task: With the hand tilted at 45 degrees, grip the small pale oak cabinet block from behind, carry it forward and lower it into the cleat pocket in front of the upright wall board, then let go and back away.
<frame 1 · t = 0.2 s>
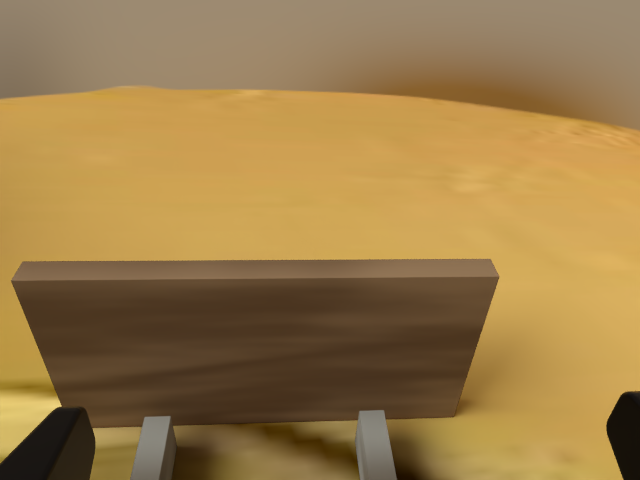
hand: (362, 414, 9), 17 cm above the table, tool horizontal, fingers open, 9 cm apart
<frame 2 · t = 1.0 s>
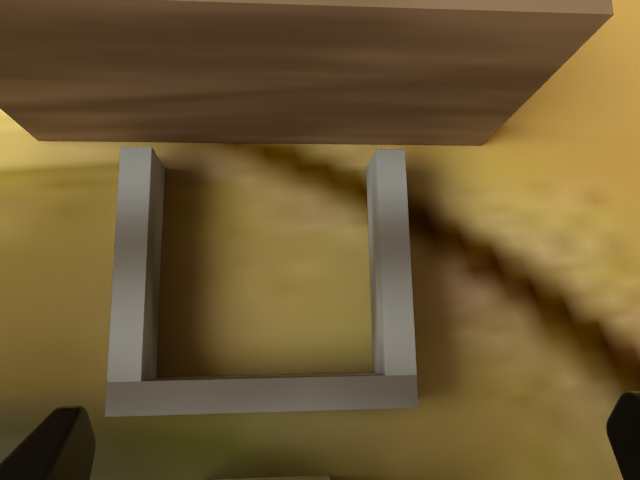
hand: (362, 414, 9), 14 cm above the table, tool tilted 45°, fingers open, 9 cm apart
cleat board: (266, 267, 23), on the table
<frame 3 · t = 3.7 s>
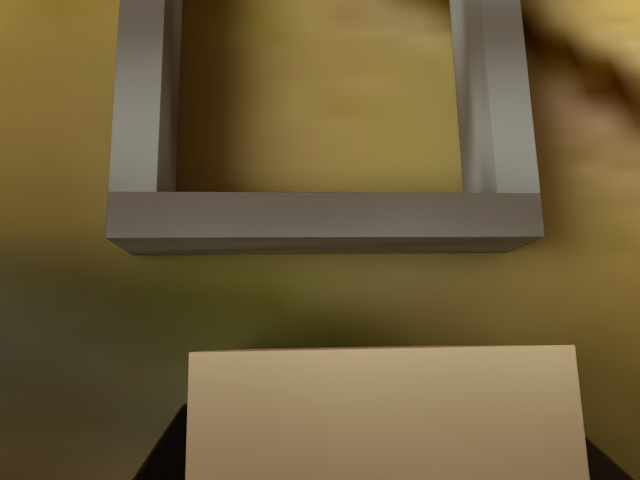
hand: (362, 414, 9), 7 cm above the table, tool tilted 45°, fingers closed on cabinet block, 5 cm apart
cabinet block: (327, 436, 15), on the table, touching gripper
cleat board: (320, 81, 17), on the table
when the fingers open (8 cm above the table, at t = 7.3 s): cabinet block drops 2 cm, resting in cleat board.
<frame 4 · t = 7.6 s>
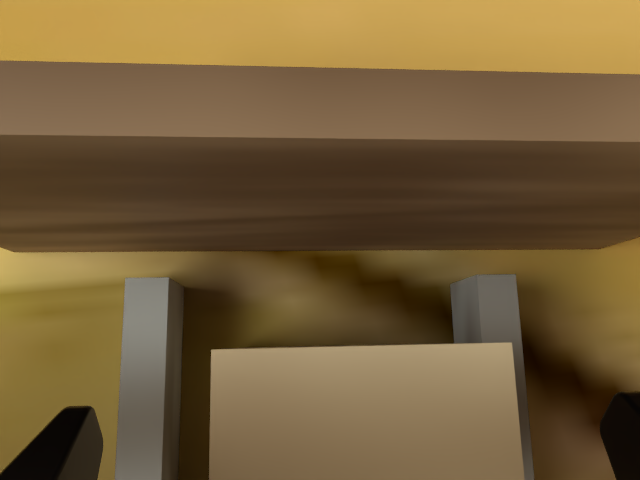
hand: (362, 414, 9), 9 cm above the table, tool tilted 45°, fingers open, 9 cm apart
cabinet block: (323, 425, 17), resting in cleat board
cleat board: (322, 425, 17), on the table
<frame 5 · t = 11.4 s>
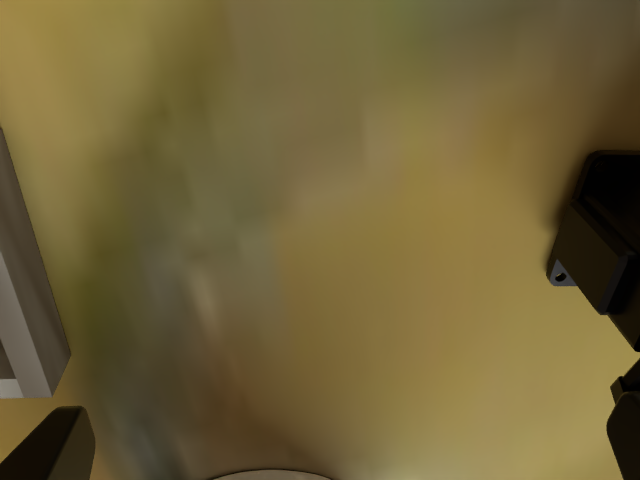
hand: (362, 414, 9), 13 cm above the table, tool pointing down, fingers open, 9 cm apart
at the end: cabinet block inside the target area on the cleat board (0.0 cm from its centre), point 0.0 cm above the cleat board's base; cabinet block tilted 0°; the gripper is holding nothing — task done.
